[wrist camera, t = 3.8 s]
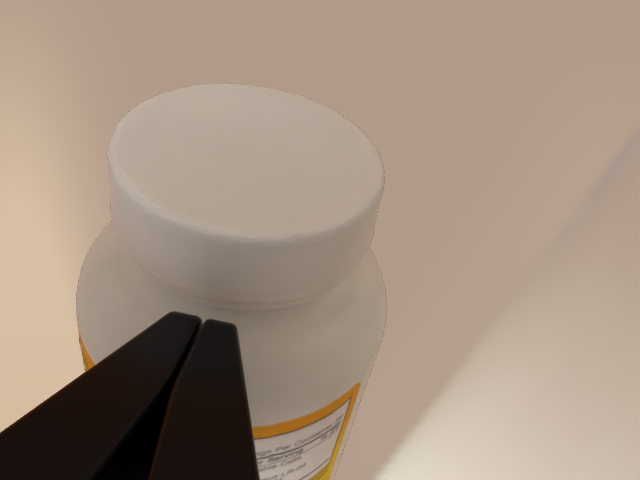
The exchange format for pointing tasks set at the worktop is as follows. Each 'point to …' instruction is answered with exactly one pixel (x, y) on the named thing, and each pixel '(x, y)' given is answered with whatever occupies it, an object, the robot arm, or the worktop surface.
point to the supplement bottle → (248, 254)
